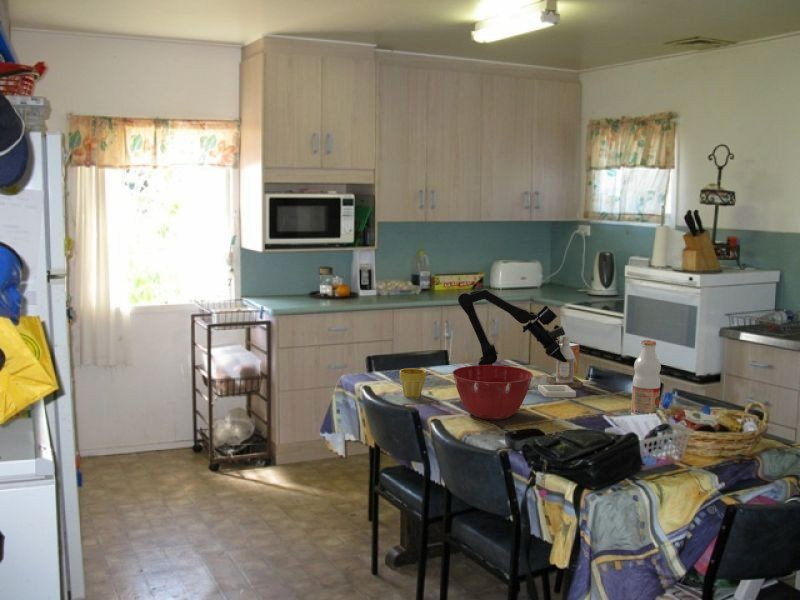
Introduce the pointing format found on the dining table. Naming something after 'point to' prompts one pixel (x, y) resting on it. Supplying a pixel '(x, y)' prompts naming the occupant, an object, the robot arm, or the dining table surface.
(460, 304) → the robot arm
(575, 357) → the small box
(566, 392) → the white square tray
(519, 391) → the mixing bowl
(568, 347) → the bath foam
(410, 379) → the plant pot
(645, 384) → the fruit juice
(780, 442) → the dining table surface
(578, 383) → the walnut collar
